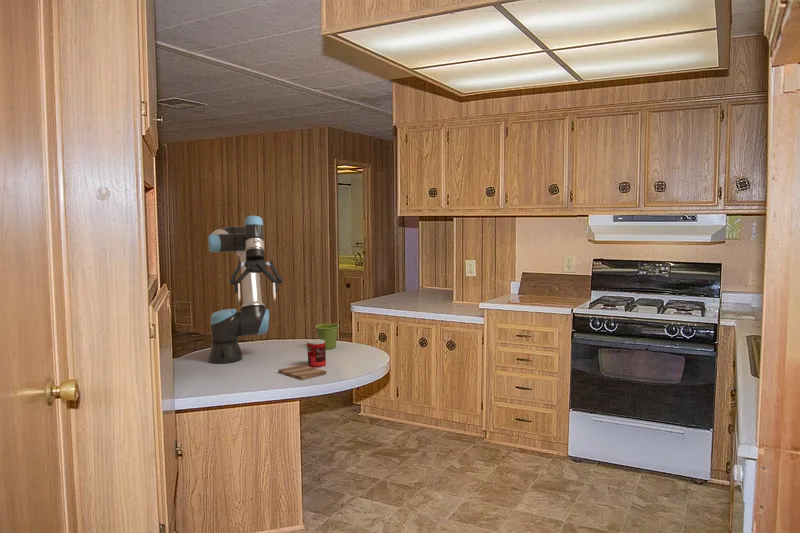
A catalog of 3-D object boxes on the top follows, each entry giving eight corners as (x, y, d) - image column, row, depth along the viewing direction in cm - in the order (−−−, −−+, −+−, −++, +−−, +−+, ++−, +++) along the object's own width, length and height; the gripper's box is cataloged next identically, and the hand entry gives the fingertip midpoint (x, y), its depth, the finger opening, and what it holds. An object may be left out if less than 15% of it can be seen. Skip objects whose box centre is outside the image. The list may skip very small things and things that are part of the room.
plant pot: (311, 348, 302) (310, 326, 301) (328, 344, 311) (328, 322, 310) (327, 351, 294) (326, 329, 293) (345, 347, 303) (344, 325, 302)
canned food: (311, 363, 273) (310, 339, 272) (328, 363, 272) (327, 339, 271) (305, 367, 266) (304, 342, 265) (322, 367, 264) (321, 343, 263)
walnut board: (278, 372, 259) (278, 369, 259) (301, 366, 267) (301, 364, 267) (302, 380, 246) (302, 377, 245) (326, 374, 254) (326, 371, 254)
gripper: (223, 247, 241) (224, 296, 233) (286, 247, 248) (289, 294, 240) (223, 255, 248) (224, 304, 239) (285, 255, 255) (288, 302, 246)
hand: (257, 299), depth 239 cm, fingers open, 13 cm apart
